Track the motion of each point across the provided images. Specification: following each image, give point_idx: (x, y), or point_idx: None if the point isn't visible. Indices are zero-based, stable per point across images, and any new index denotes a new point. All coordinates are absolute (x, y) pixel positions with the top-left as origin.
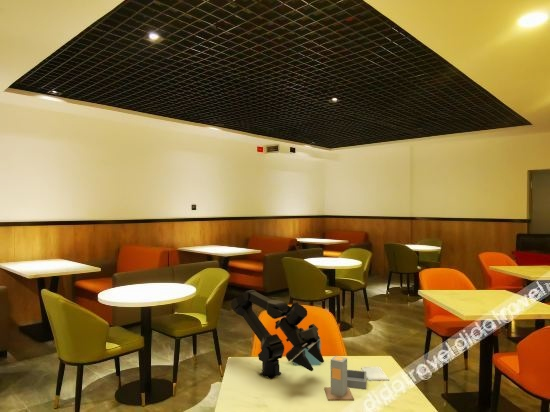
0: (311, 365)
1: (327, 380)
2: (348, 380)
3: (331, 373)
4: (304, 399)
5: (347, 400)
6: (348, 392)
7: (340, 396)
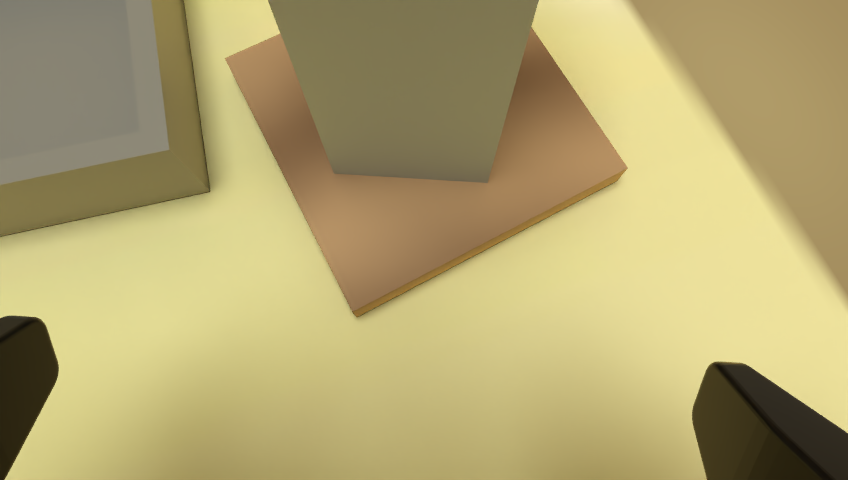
0: (783, 428)
1: None
2: (155, 33)
3: (529, 12)
4: None
5: None
6: None
7: None
